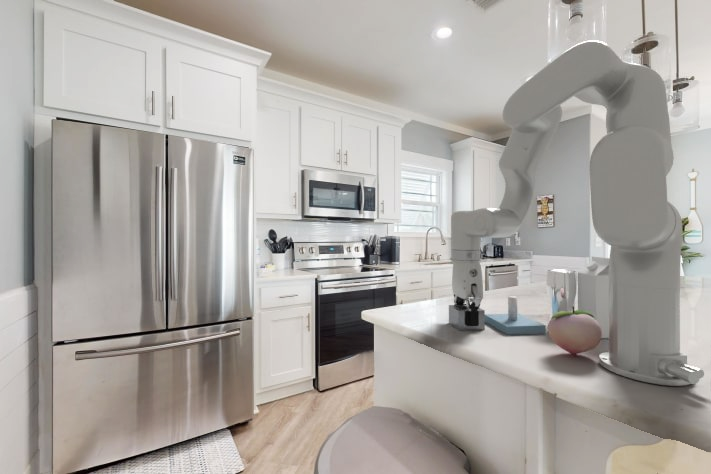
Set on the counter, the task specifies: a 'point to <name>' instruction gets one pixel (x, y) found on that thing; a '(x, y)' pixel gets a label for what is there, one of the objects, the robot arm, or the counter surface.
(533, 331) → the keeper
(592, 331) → the decorative fruit
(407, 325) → the counter surface
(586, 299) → the milk carton
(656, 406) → the counter surface
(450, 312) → the gray square block
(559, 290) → the beer glass
